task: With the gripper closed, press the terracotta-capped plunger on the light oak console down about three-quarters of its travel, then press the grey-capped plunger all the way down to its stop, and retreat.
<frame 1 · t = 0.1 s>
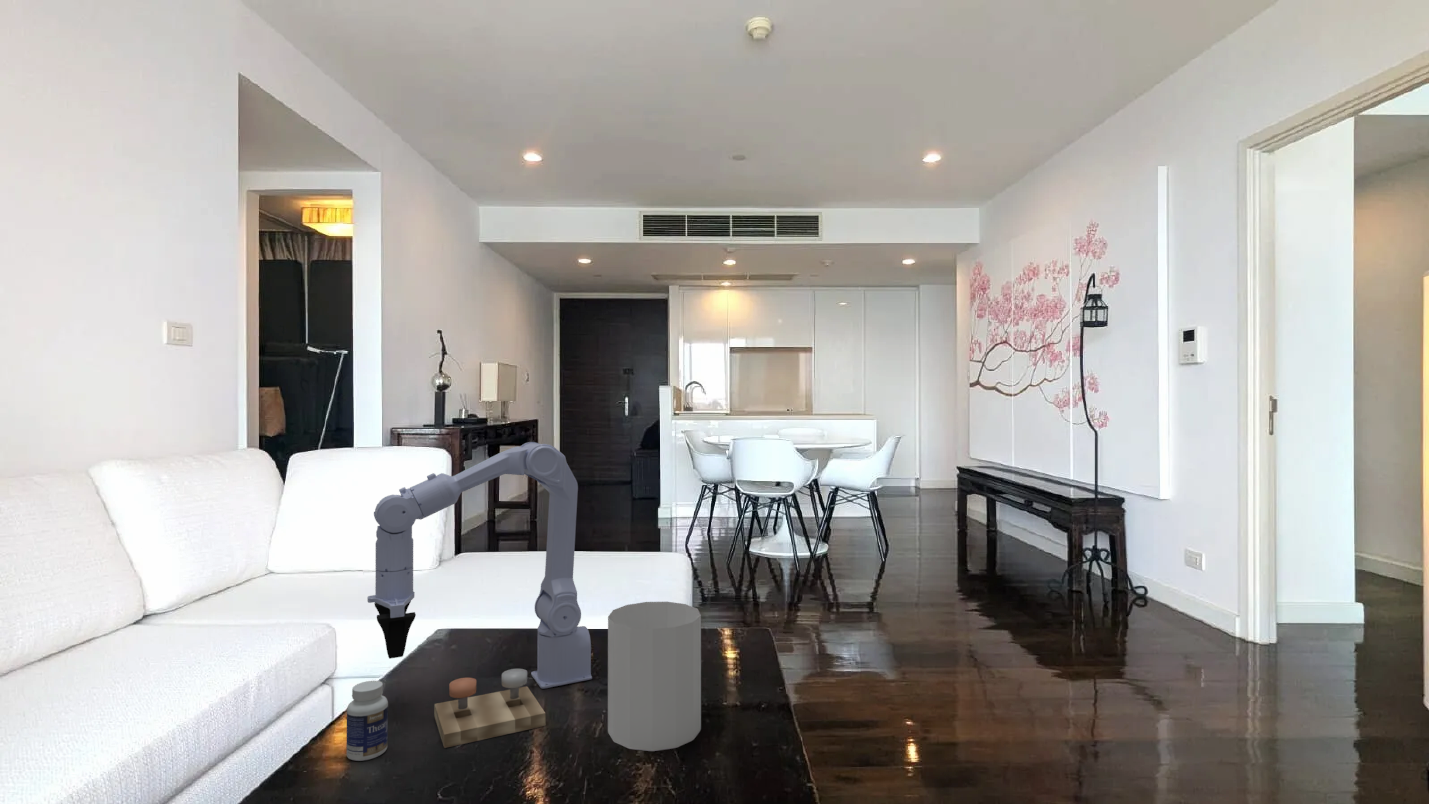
hand: (394, 649, 114), 10 cm above the table, fingers open, 7 cm apart
grey plunger: (514, 685, 112), point 5 cm above the table, slide at 0.0 cm
console: (489, 721, 110), on the table
pill bottle: (367, 754, 100), on the table
rust plunger: (462, 695, 108), point 5 cm above the table, slide at 0.0 cm
container: (655, 730, 108), on the table
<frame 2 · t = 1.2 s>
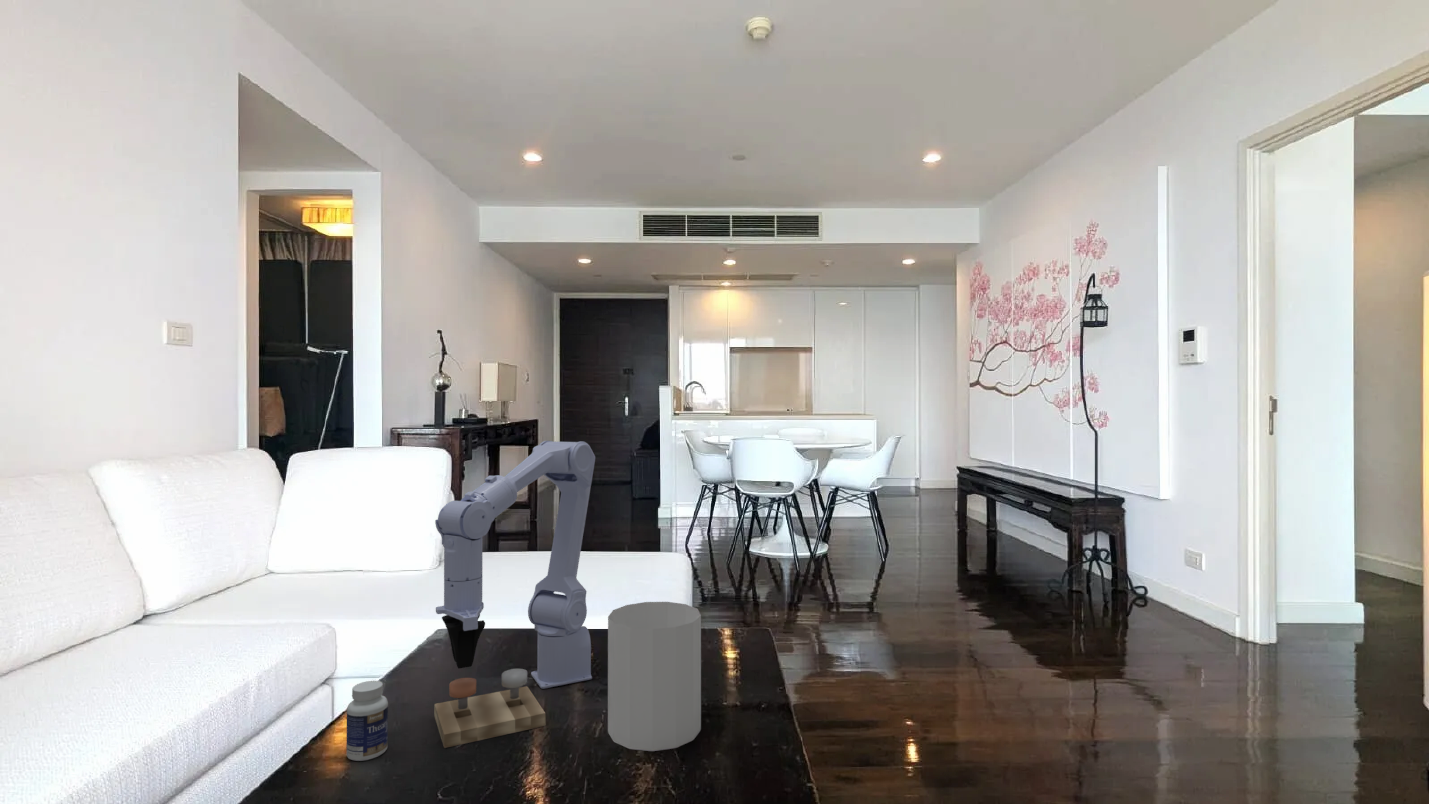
hand: (463, 663, 108), 10 cm above the table, fingers open, 3 cm apart
nothing on the table moved.
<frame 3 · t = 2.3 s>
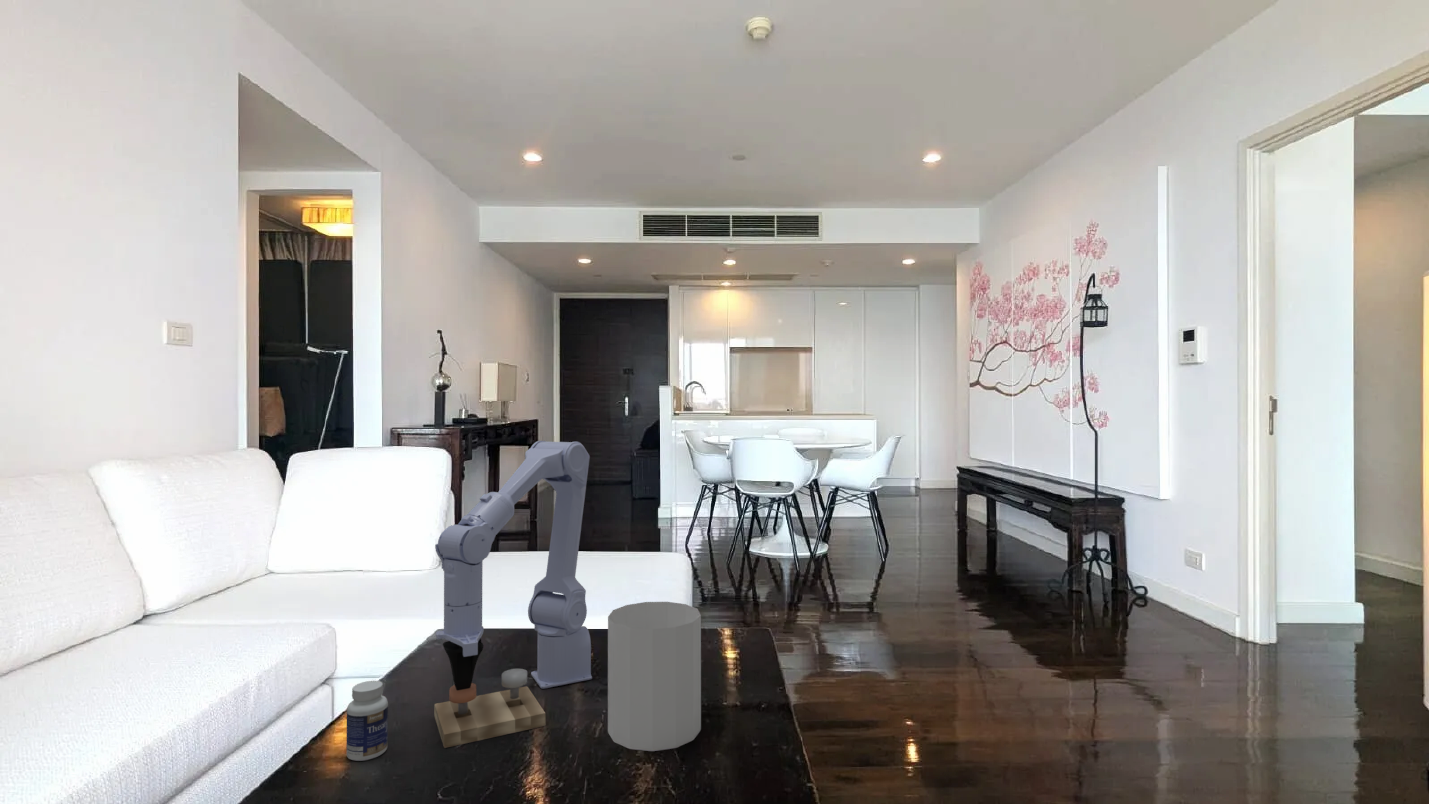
hand: (462, 688, 108), 6 cm above the table, fingers closed, pressing on rust plunger
rust plunger: (462, 700, 108), point 4 cm above the table, slide at 0.8 cm, touching gripper
everything else where it was.
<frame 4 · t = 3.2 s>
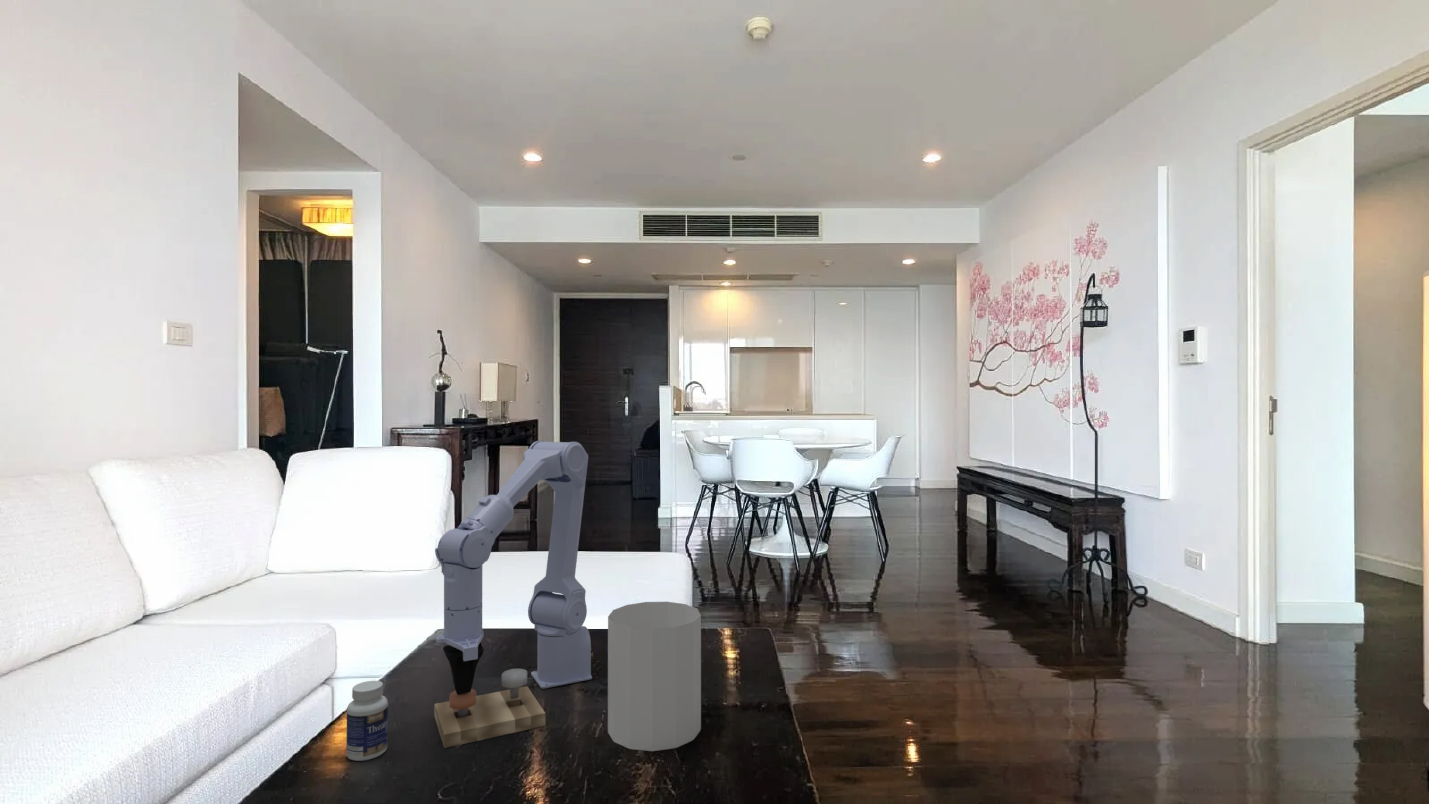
hand: (463, 691, 108), 5 cm above the table, fingers closed
rust plunger: (462, 706, 108), point 3 cm above the table, slide at 1.7 cm
everything else where it was.
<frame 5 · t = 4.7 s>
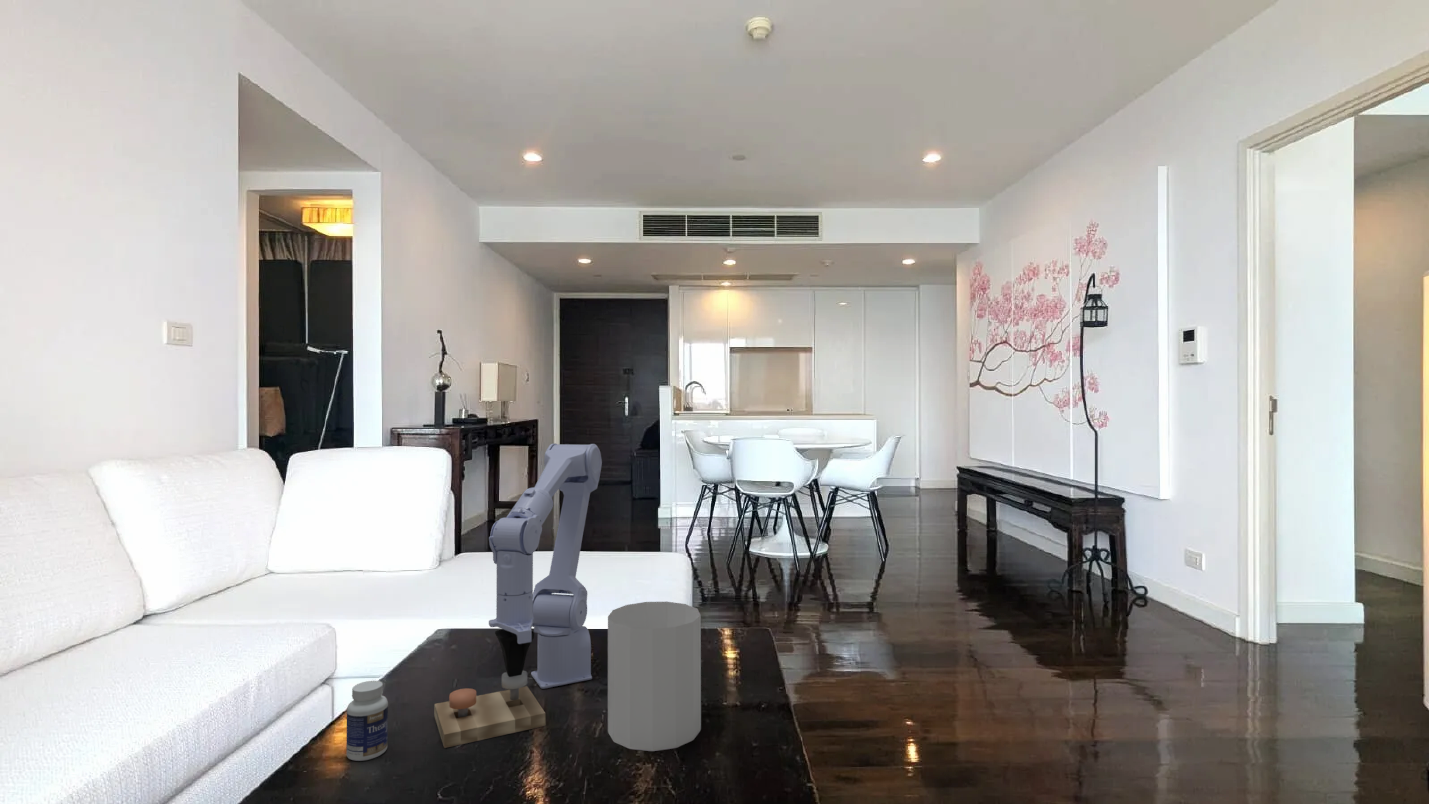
hand: (514, 674, 112), 7 cm above the table, fingers closed, pressing on grey plunger
grey plunger: (514, 686, 112), point 5 cm above the table, slide at 0.2 cm, touching gripper
everything else where it was.
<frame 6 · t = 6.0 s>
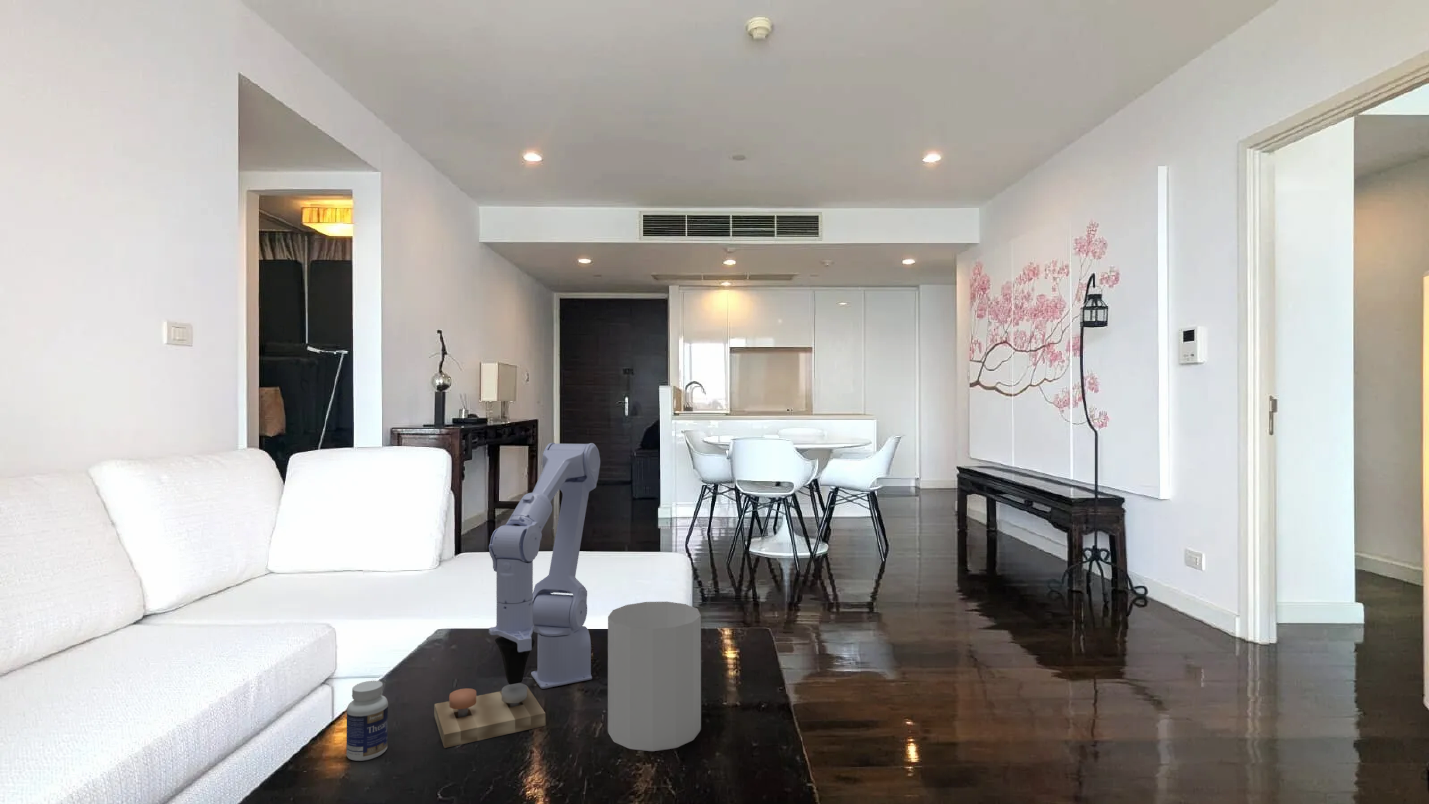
hand: (514, 682, 112), 5 cm above the table, fingers closed
grey plunger: (514, 700, 112), point 3 cm above the table, slide at 2.4 cm
everything else where it was.
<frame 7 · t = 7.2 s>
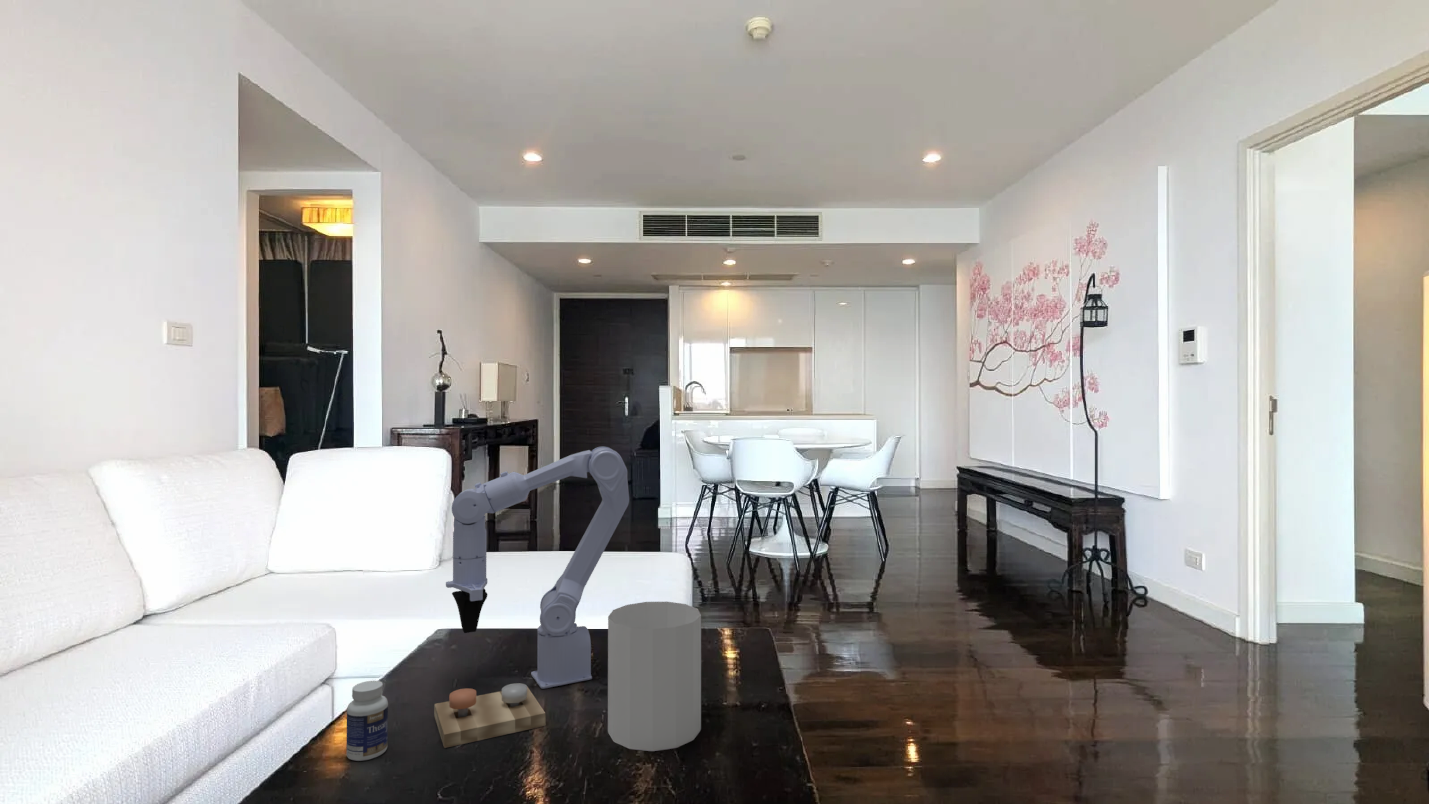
hand: (469, 631, 124), 10 cm above the table, fingers closed
nothing on the table moved.
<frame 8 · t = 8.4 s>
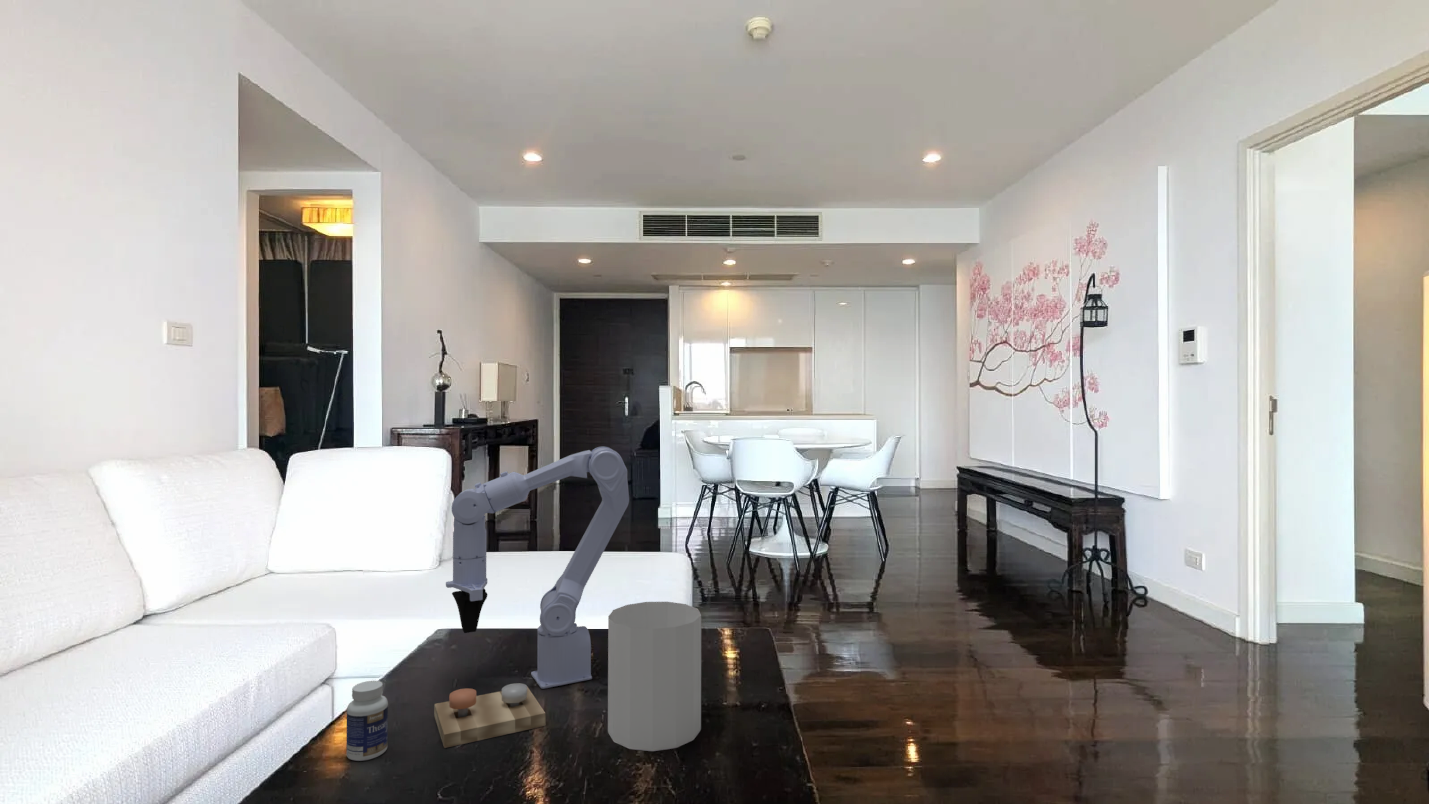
hand: (469, 631, 124), 10 cm above the table, fingers closed
nothing on the table moved.
at the end: rust plunger slide at 1.7 cm; grey plunger slide at 2.4 cm; rust plunger touching nothing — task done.
